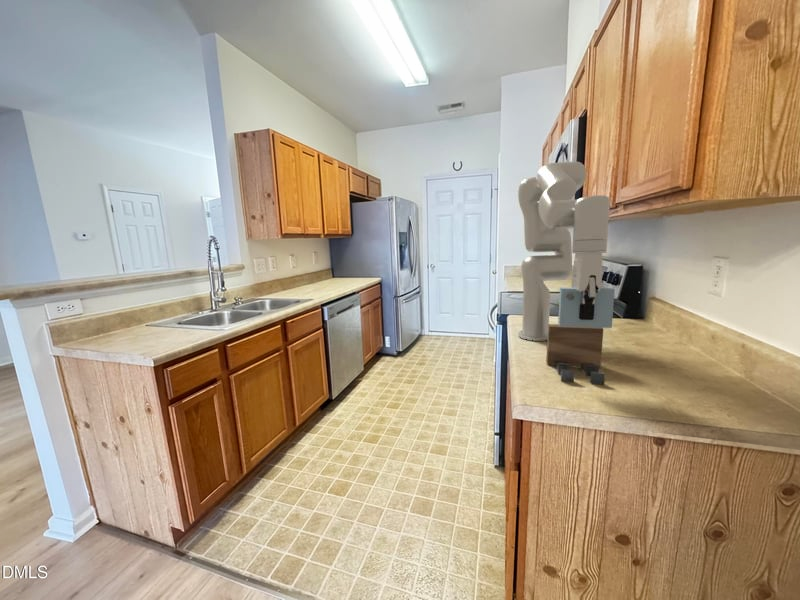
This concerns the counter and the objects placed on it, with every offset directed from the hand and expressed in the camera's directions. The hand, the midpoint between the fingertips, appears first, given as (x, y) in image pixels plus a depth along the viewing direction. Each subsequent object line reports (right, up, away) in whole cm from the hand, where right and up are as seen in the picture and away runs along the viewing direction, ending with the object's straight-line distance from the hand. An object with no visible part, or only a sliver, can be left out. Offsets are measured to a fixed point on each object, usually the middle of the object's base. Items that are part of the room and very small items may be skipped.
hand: (584, 317), depth 84 cm
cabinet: (+3, -15, +12) cm, 20 cm away
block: (0, -2, 0) cm, 2 cm away
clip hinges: (+1, -16, +5) cm, 17 cm away
